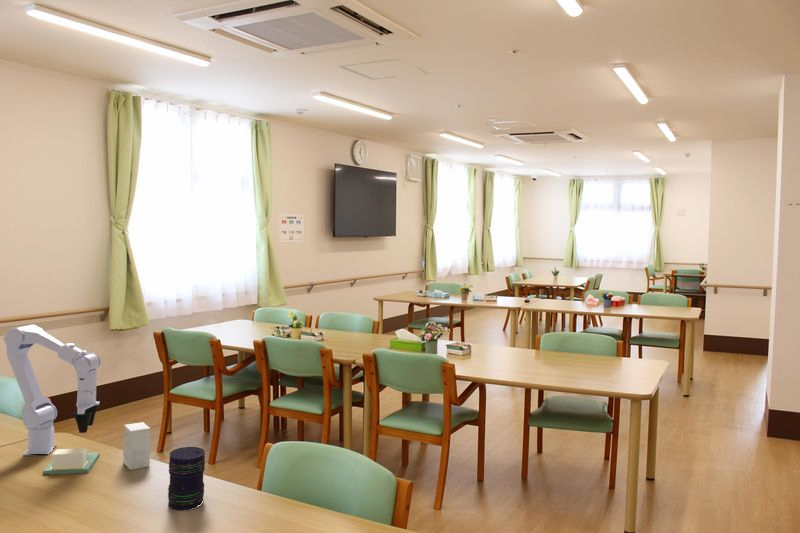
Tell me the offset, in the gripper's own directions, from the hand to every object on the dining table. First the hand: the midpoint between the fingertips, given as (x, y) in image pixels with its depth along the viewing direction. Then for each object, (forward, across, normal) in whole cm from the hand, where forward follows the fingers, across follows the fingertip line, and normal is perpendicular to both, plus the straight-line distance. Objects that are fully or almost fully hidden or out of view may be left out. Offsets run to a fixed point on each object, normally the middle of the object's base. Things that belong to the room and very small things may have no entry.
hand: (86, 428), depth 208 cm
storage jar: (+10, -42, -37) cm, 57 cm away
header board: (+9, -8, +2) cm, 13 cm away
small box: (+10, -10, -18) cm, 23 cm away
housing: (+8, -12, +2) cm, 14 cm away
